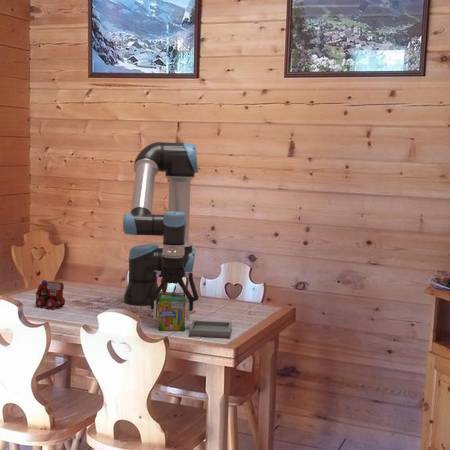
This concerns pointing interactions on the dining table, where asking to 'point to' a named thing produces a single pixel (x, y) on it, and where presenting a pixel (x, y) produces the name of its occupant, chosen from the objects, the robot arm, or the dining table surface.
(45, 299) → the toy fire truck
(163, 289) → the hand bell
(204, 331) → the tray
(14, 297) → the dining table surface
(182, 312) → the chalk box
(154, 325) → the dining table surface
